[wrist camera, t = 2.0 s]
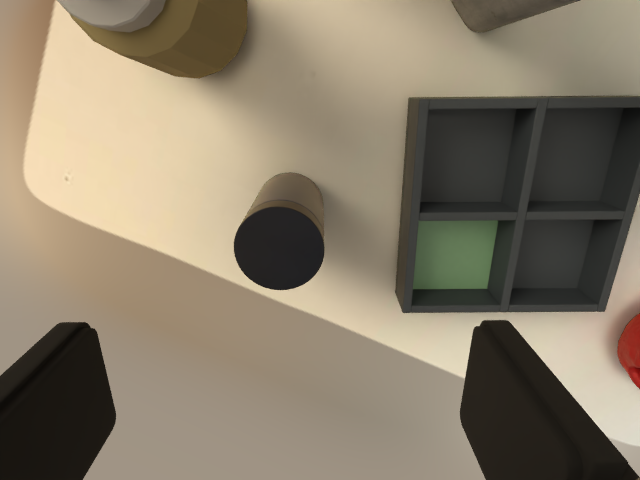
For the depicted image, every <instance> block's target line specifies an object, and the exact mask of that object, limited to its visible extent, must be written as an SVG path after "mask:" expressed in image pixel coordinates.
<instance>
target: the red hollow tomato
mask: <svg viewBox="0 0 640 480" xmlns="http://www.w3.org/2000/svg"><path fill="white" fill-rule="evenodd" d="M617 352H618V358H619V361H620V363H621V365H622V366H623V367H624V368H625V370H626V372H627V373H628V374H629V377H630V378H631V380H632V381H633V382H634V384H635V385H636V386H637V387H638V388H639V389H640V313H639V314H638V315H637V316H636V317H634V318H633V319H632V320H631V321H630V322H629V323H628V324H627V325H626V327H625V329H624V331H623V333H622V335H621V337H620V339H619V342H618V351H617Z"/></svg>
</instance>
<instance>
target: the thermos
mask: <svg viewBox="0 0 640 480" xmlns="http://www.w3.org/2000/svg"><path fill="white" fill-rule="evenodd" d="M234 253H235V257H236V261H237V263H238V265H239V267H240V268H241V270H242V271H243V273H244V274H245V275H246V276H247V277H248V278H249V279H250V280H252V281H253V282H255V283H256V284H258V285H260V286H263V287H265V288H269V289H274V290H288V289H293V288H296V287H299V286H301V285H303V284H305V283H306V282H308V281H309V280H310V279H312V278H313V276H314V275H315V274H316V273H317V272H318V270H319V268H320V267H321V264H322V262H323V258H324V210H323V198H322V195H321V192H320V190H319V188H318V187H317V186H316V184H315V183H314V182H313V181H311V180H310V179H309V178H307V177H305V176H303V175H301V174H297V173H282V174H279V175H276V176H274V177H272V178H271V179H269V180H268V181H267V182H266V183H265V184H264V186H263V187H262V189H261V190H260V192H259V194H258V196H257V197H256V199H255V201H254V202H253V204H252V206H251V208H250V209H249V211H248V213H247V215H246V216H245V218H244V220H243V222H242V223H241V225H240V227H239V228H238V231H237V233H236V236H235V240H234Z"/></svg>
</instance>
